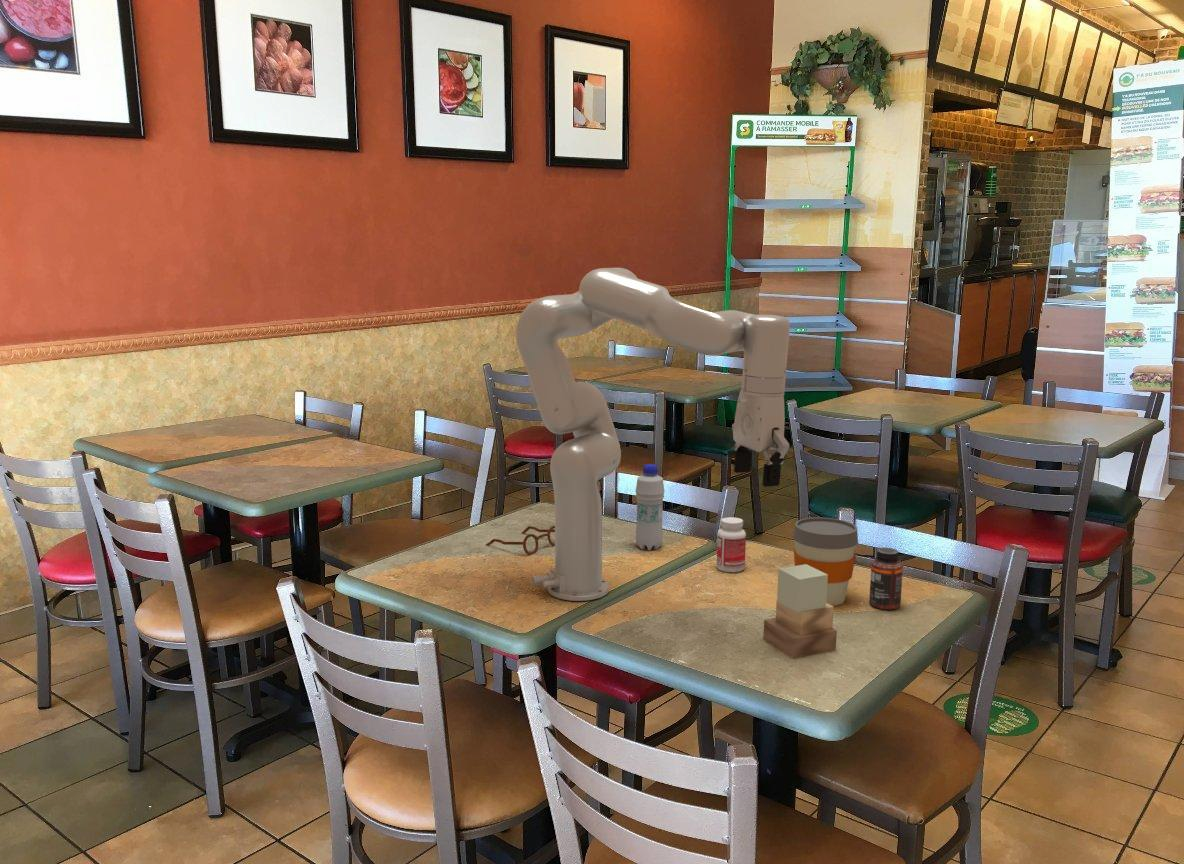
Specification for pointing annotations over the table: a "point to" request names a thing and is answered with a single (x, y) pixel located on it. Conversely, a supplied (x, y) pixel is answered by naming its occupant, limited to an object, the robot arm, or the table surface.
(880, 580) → the supplement bottle
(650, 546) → the bottle
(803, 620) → the oak block
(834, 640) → the walnut block
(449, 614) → the table surface
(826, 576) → the sage cube
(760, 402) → the robot arm
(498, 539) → the glasses
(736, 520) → the pill bottle
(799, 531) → the reusable coffee cup
